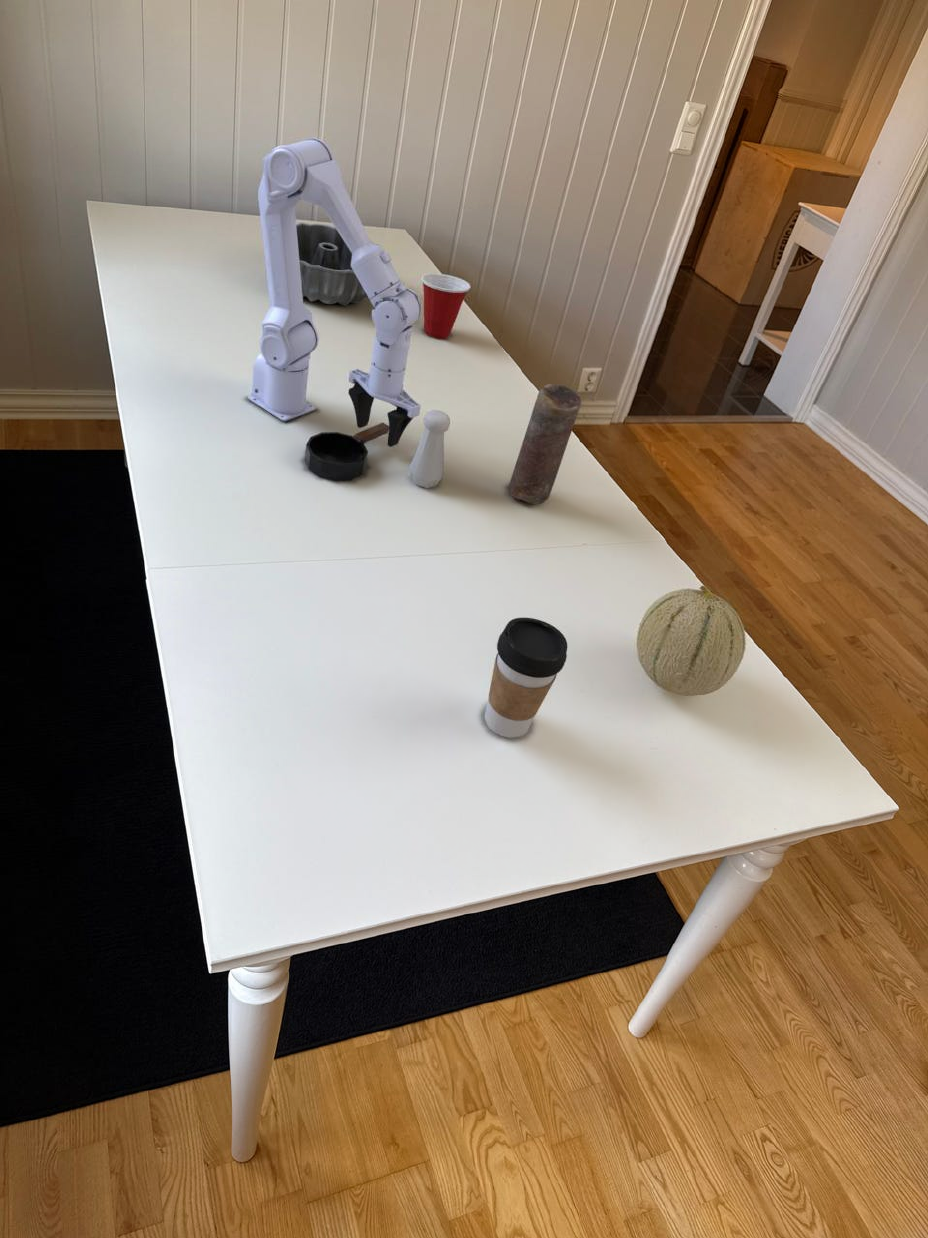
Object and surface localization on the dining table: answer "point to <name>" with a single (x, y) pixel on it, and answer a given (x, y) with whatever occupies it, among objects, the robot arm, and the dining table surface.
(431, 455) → the salt shaker
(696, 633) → the cantaloupe
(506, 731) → the coffee cup
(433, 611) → the dining table surface
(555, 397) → the candle
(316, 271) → the bundt pan
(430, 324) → the plastic cup
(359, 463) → the pan
